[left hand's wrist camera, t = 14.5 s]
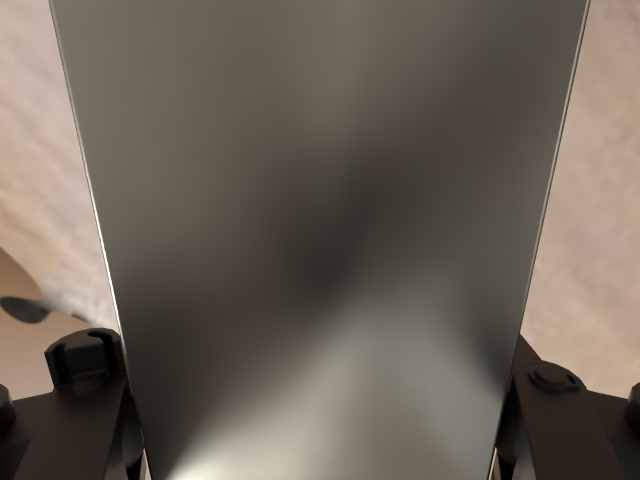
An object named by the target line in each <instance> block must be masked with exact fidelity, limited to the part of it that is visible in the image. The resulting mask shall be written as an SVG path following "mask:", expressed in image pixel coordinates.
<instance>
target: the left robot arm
mask: <svg viewBox="0 0 640 480" xmlns="http://www.w3.org/2000/svg"><path fill="white" fill-rule="evenodd" d="M44 354H45V358H46V361H47V364H48V367H49V371H50V374H51V378H52V381H53V384H54V389H53V391H52V392H50V393H46V394H42V395H37V396H32V397H28V398H23V399H18V400H14V401H12V399H11V396H10V394H9V391H8V389H7V388H6V387H5V386H3V385H2V384H0V480H145V474H146V461H145V456H144V451H143V450H144V443H143V439H142V434H141V429H140V425H139V420H138V415H137V411H136V406H135V401H134V397H133V392H132V387H131V383H130V378H129V373H128V369H127V364H126V359H125V355H124V350H123V345H122V341H121V336H120V335H119V334H118V333H117V332H115V331H114V330H112V329H107V328H90V329H86V330H81V331H77V332H74V333H72V334H69V335H67V336H65V337H62V338H61V339H59V340H58V341H56V342H55V343H53V344H51V345H50V347H49V348H48V349H47V350H46V351H45V352H44ZM496 448H497V451H496V456H495V460H494V465H493V470H492V475H491V479H490V480H640V382H639V383H637V384H636V385H635V386H633V387H632V390H631V392H630V395H629V398H628V399H625V398H621V397H616V396H611V395H606V394H601V393H597V392H593V391H589V390H587V388H586V386H585V385H584V384H583V382H582V381H581V380H580V378H579V377H577V376H576V375H575V374H573V373H572V372H571V371H569V370H567V369H565V368H563V367H561V366H559V365H557V364H554V363H550V362H547V361H543V360H541V358H540V357H539V356H538V355H537V354H536V352H535V351H534V350H533V349H532V347H531V346H530V345H529V344H528V343H527V341H526V340H525V339H524V338H523V336H522V335H521V334H519V339H518V344H517V348H516V353H515V358H514V362H513V367H512V372H511V376H510V381H509V386H508V390H507V395H506V400H505V405H504V409H503V414H502V419H501V423H500V428H499V433H498V437H497V442H496Z"/></svg>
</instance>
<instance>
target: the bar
mask: <svg viewBox="0 0 640 480" xmlns="http://www.w3.org/2000/svg"><path fill="white" fill-rule="evenodd" d="M590 1H591V0H49V5H50V9H51V14H52V19H53V23H54V28H55V33H56V37H57V42H58V47H59V51H60V56H61V61H62V65H63V70H64V75H65V79H66V84H67V89H68V93H69V98H70V103H71V107H72V112H73V117H74V121H75V126H76V131H77V135H78V140H79V145H80V149H81V154H82V159H83V163H84V168H85V173H86V177H87V182H88V187H89V191H90V196H91V201H92V205H93V210H94V215H95V219H96V224H97V229H98V233H99V238H100V243H101V247H102V252H103V257H104V261H105V266H106V271H107V275H108V280H109V285H110V289H111V294H112V299H113V303H114V308H115V313H116V317H117V322H118V327H119V331H120V336H121V341H122V345H123V350H124V355H125V359H126V364H127V369H128V373H129V378H130V383H131V387H132V392H133V397H134V401H135V406H136V411H137V415H138V420H139V425H140V429H141V434H142V439H143V443H144V448H145V453H146V457H147V462H148V467H149V471H150V476H151V480H489V475H490V470H491V465H492V461H493V456H494V451H495V447H496V442H497V437H498V433H499V428H500V423H501V419H502V414H503V409H504V405H505V400H506V395H507V390H508V386H509V381H510V376H511V372H512V367H513V362H514V358H515V353H516V348H517V344H518V339H519V334H520V330H521V325H522V320H523V315H524V311H525V306H526V301H527V297H528V292H529V287H530V283H531V278H532V273H533V269H534V264H535V259H536V254H537V250H538V245H539V240H540V236H541V231H542V226H543V222H544V217H545V212H546V208H547V203H548V198H549V194H550V189H551V184H552V179H553V175H554V170H555V165H556V161H557V156H558V151H559V147H560V142H561V137H562V133H563V128H564V123H565V119H566V114H567V109H568V104H569V100H570V95H571V90H572V86H573V81H574V76H575V72H576V67H577V62H578V58H579V53H580V48H581V43H582V39H583V34H584V29H585V25H586V20H587V15H588V11H589V6H590Z"/></svg>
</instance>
